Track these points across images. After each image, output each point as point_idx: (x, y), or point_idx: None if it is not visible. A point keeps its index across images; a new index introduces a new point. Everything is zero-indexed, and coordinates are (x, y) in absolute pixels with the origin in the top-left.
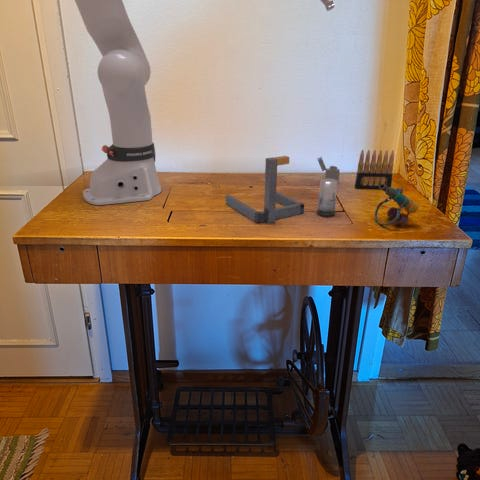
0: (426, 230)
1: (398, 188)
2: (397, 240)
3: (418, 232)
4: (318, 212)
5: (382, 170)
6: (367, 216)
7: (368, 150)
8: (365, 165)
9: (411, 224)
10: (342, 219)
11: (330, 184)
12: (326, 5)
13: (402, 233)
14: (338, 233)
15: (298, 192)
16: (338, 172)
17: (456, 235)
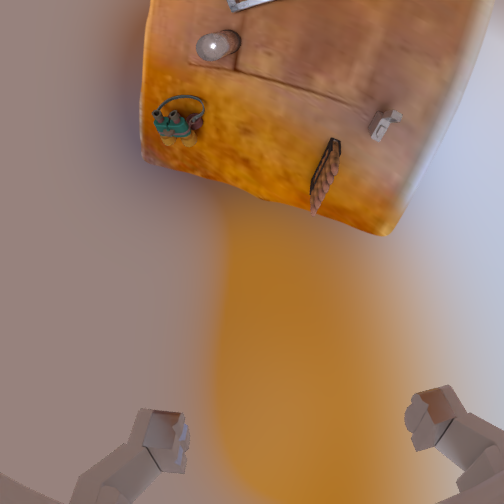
0: None
1: (169, 132)
2: (140, 95)
3: None
4: (223, 30)
5: (317, 185)
6: (211, 93)
7: (329, 182)
8: (328, 165)
9: None
10: None
11: (196, 45)
12: (443, 410)
13: None
14: (161, 38)
15: (340, 41)
16: (370, 134)
17: (152, 158)
